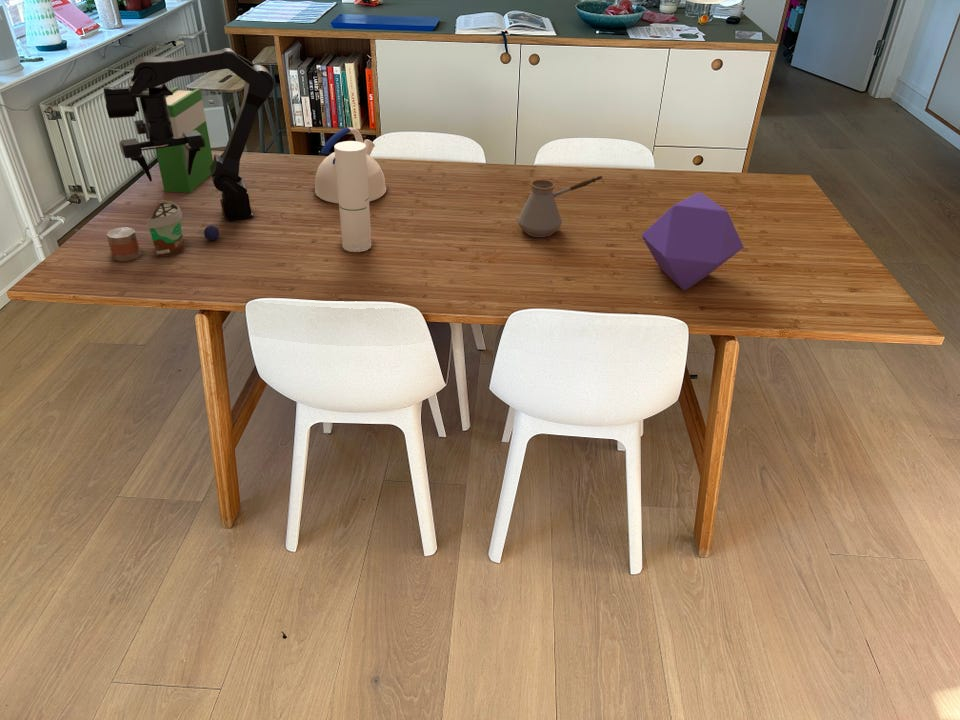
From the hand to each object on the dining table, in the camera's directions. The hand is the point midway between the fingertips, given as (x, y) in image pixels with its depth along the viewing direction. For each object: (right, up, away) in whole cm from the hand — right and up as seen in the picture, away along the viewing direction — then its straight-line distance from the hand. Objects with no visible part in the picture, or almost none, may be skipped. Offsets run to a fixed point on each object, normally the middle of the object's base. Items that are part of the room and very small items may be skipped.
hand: (170, 177), depth 185 cm
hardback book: (-7, +6, +31) cm, 32 cm away
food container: (+4, -19, -5) cm, 20 cm away
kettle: (+40, +3, +28) cm, 49 cm away
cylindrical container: (+47, -17, -1) cm, 50 cm away
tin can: (-6, -21, -10) cm, 24 cm away
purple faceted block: (+126, -26, -10) cm, 129 cm away
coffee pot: (+98, -12, +9) cm, 99 cm away
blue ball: (+11, -16, -1) cm, 19 cm away
